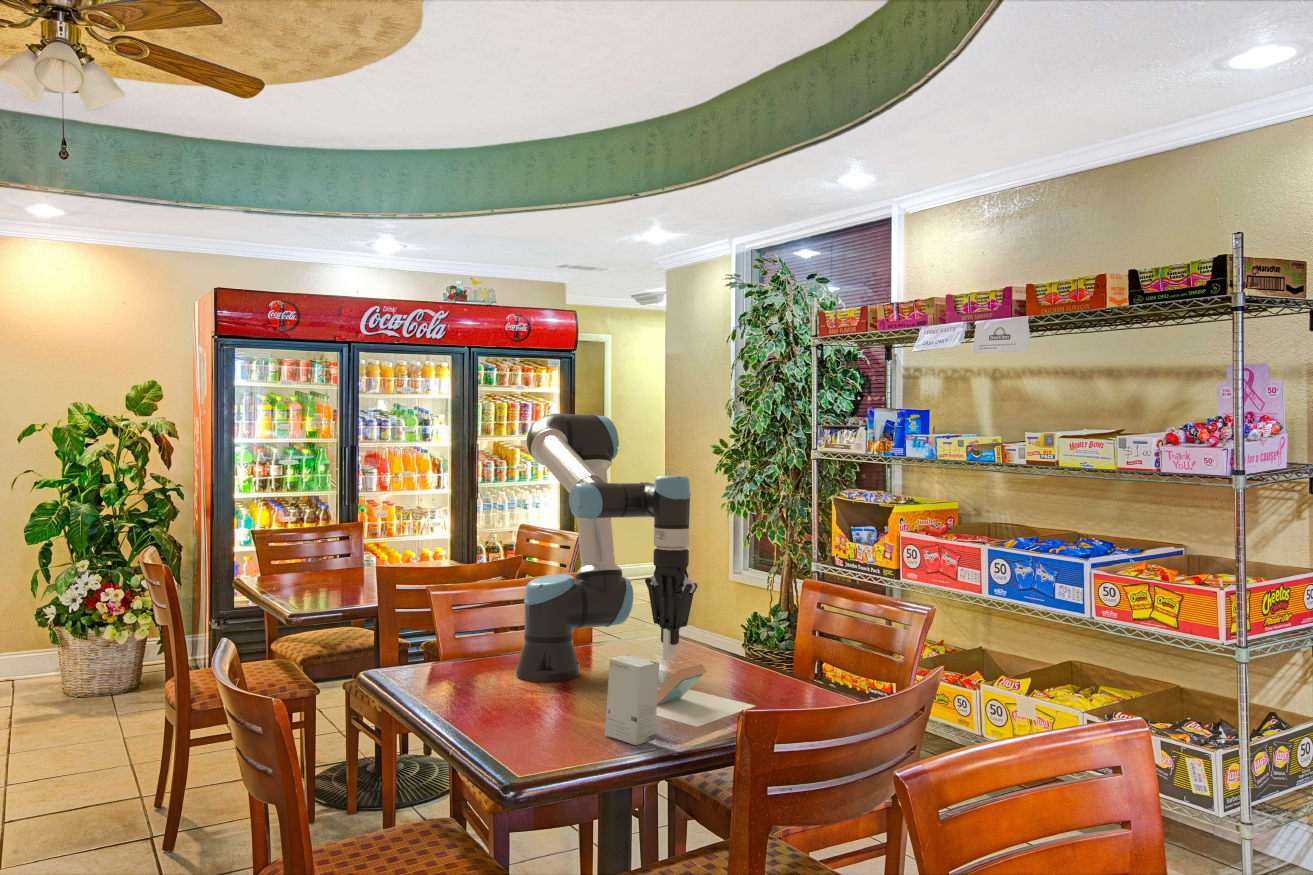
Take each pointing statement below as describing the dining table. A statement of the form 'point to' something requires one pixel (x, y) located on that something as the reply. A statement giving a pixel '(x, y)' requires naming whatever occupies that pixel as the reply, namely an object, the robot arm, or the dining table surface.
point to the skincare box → (632, 699)
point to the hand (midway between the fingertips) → (669, 658)
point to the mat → (699, 708)
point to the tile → (680, 683)
